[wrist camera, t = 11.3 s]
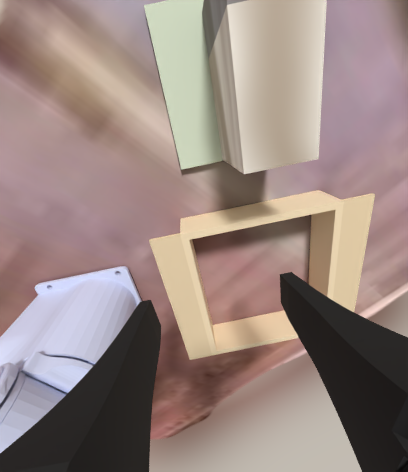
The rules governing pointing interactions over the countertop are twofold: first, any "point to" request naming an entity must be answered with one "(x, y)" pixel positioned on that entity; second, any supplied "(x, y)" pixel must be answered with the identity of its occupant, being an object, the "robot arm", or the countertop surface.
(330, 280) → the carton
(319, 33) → the box
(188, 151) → the mat
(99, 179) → the countertop surface
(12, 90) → the countertop surface
